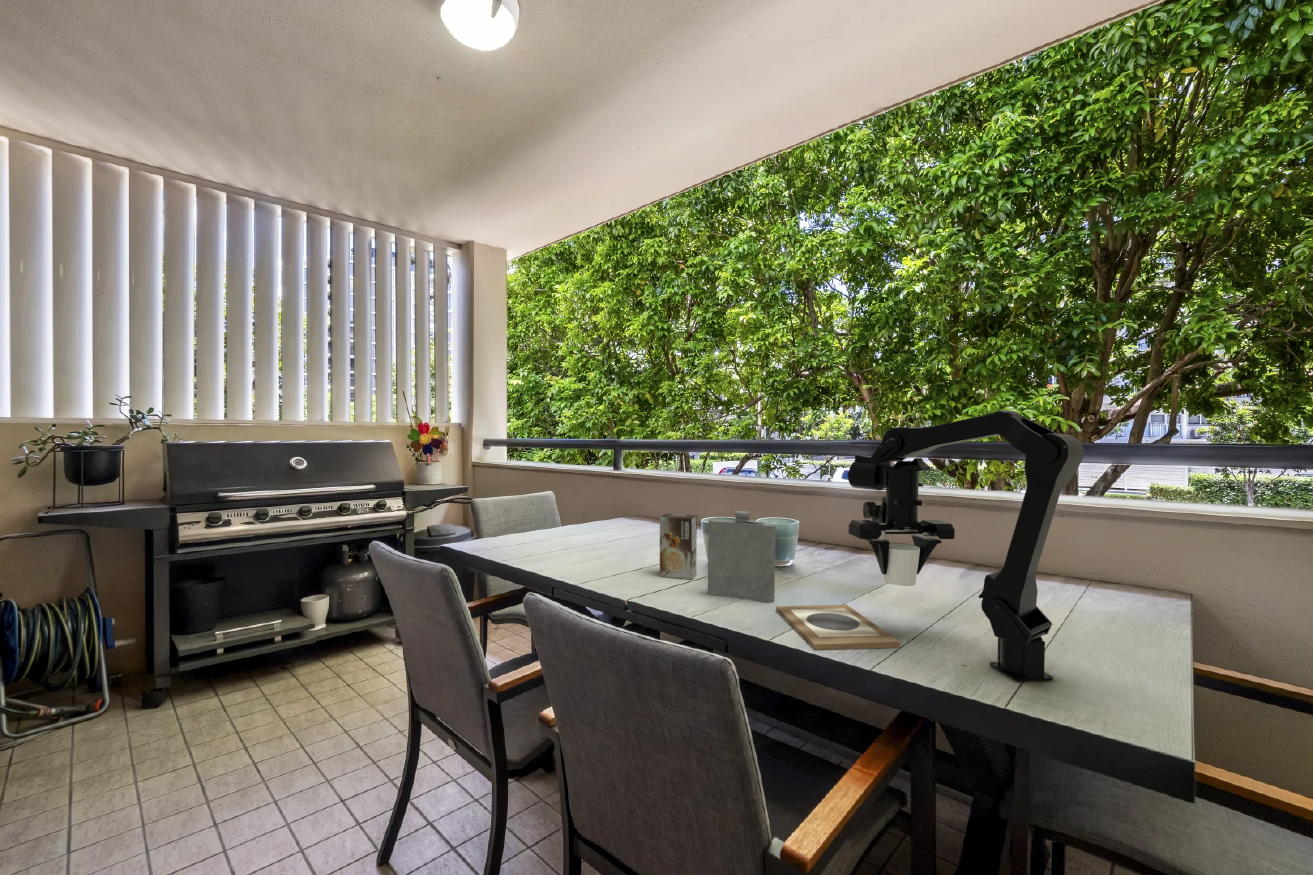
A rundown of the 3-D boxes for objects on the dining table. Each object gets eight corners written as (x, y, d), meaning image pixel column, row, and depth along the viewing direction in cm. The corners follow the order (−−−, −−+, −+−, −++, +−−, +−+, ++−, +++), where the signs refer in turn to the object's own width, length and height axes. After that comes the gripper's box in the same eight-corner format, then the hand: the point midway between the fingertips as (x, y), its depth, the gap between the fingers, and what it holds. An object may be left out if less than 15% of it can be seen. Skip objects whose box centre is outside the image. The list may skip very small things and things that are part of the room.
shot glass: (923, 588, 106) (924, 550, 106) (884, 585, 107) (884, 548, 107) (914, 578, 113) (915, 543, 112) (878, 575, 114) (878, 541, 114)
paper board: (899, 647, 103) (900, 640, 103) (814, 649, 102) (814, 642, 102) (847, 609, 125) (847, 603, 125) (776, 610, 124) (776, 604, 124)
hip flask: (705, 594, 135) (706, 510, 135) (711, 590, 139) (712, 508, 139) (772, 603, 129) (774, 515, 129) (776, 598, 133) (777, 512, 132)
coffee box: (697, 574, 154) (698, 514, 154) (692, 579, 148) (692, 518, 148) (665, 571, 157) (665, 513, 157) (658, 576, 151) (659, 516, 151)
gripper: (924, 488, 118) (922, 563, 119) (837, 488, 117) (836, 564, 117) (958, 495, 107) (955, 577, 108) (862, 494, 106) (860, 578, 106)
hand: (899, 573), depth 110 cm, fingers closed on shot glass, 6 cm apart
